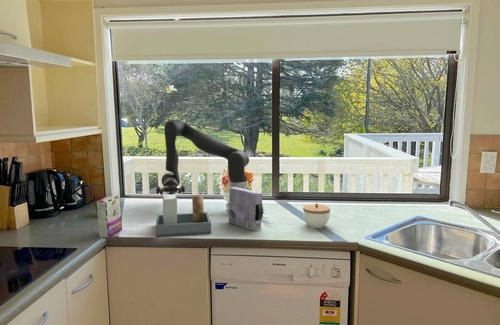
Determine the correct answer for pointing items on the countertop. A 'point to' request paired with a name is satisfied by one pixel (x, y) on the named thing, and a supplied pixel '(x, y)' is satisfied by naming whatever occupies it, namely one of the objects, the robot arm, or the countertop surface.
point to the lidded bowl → (316, 215)
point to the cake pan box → (245, 208)
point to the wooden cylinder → (197, 209)
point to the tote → (183, 226)
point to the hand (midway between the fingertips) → (170, 192)
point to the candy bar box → (109, 216)
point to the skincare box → (169, 209)
